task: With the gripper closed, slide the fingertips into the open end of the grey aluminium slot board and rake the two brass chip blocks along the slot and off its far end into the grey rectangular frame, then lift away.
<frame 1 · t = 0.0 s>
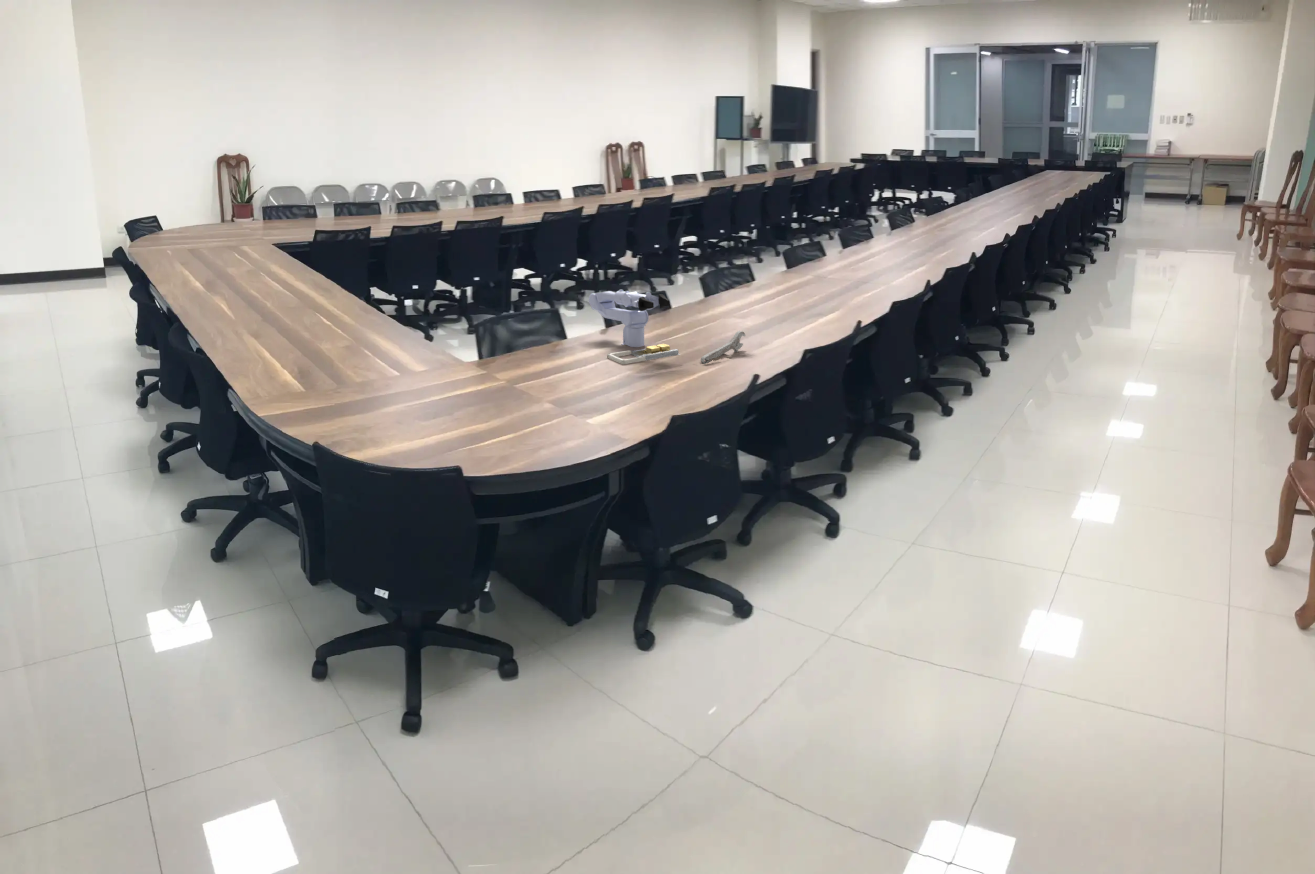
hand: (660, 304, 362), 22 cm above the table, tool horizontal, fingers open, 7 cm apart
chip rear: (663, 352, 372), point 1 cm above the table, touching slot board
chip front: (652, 354, 369), point 1 cm above the table, touching slot board
wrench: (723, 357, 371), on the table
slot board: (654, 356, 370), on the table
grey rectangular frame: (626, 361, 363), on the table
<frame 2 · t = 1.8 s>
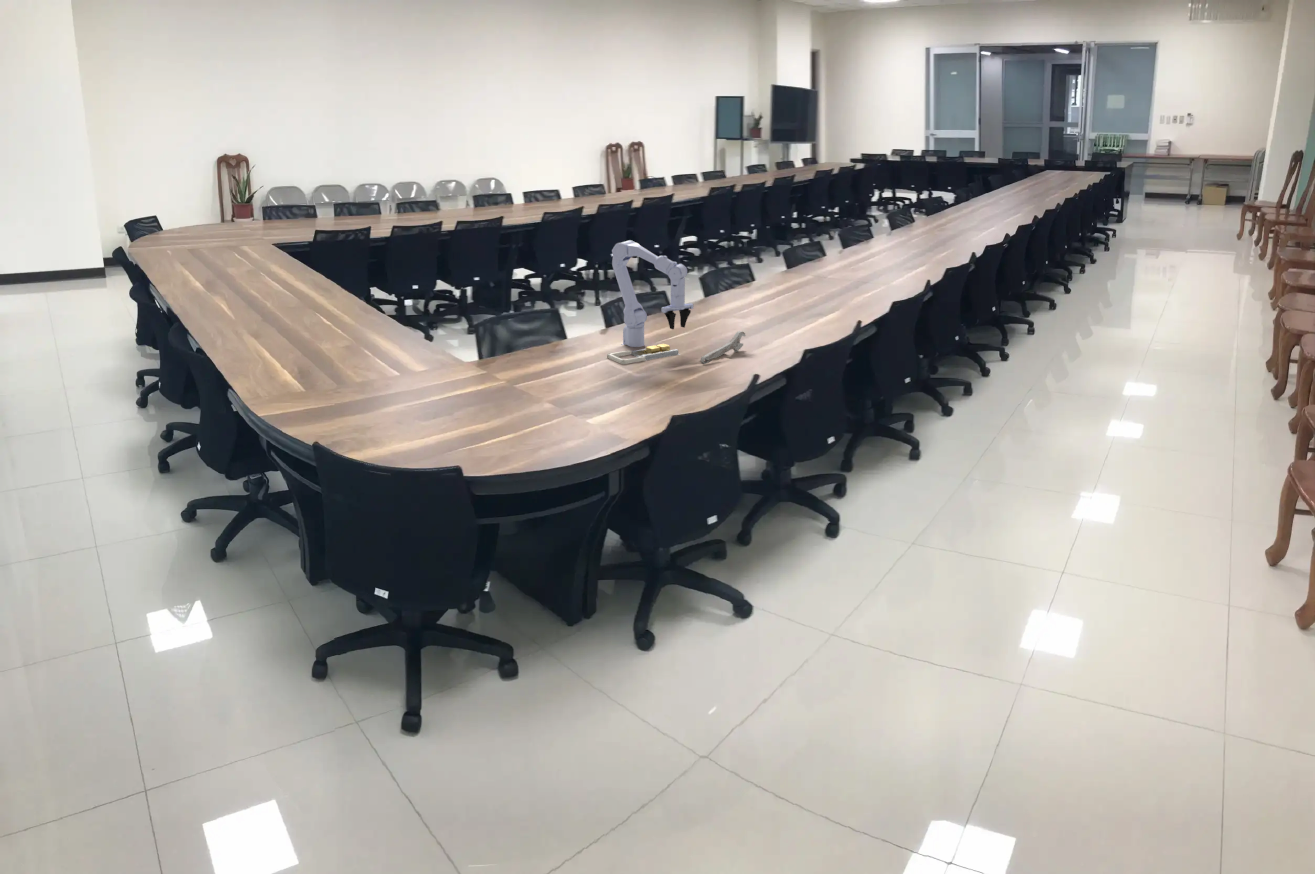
hand: (677, 328, 372), 10 cm above the table, tool pointing down, fingers open, 5 cm apart
nothing on the table moved.
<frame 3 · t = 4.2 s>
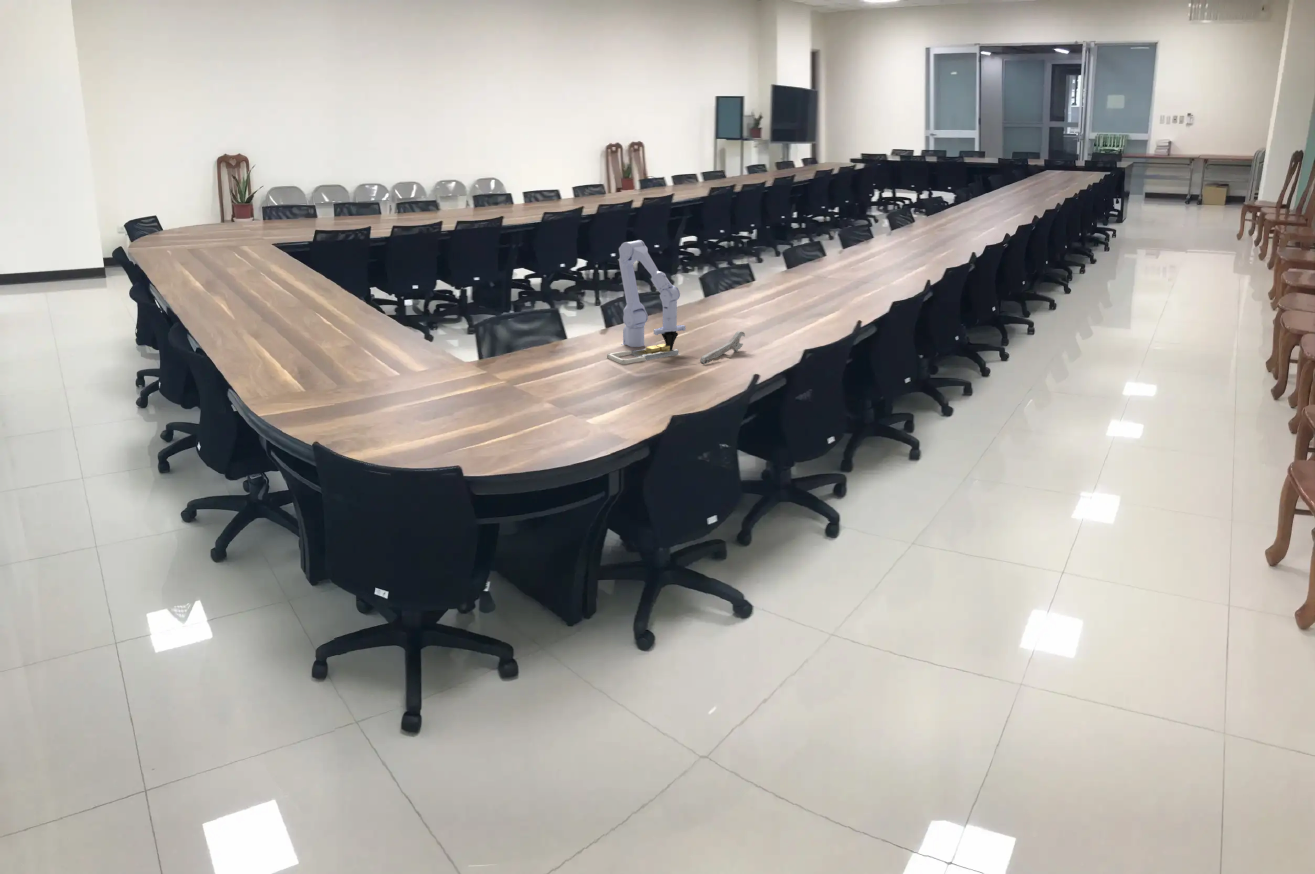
hand: (669, 349, 373), 2 cm above the table, tool pointing down, fingers closed
chip rear: (662, 352, 372), point 1 cm above the table, touching gripper, slot board
everything else where it was.
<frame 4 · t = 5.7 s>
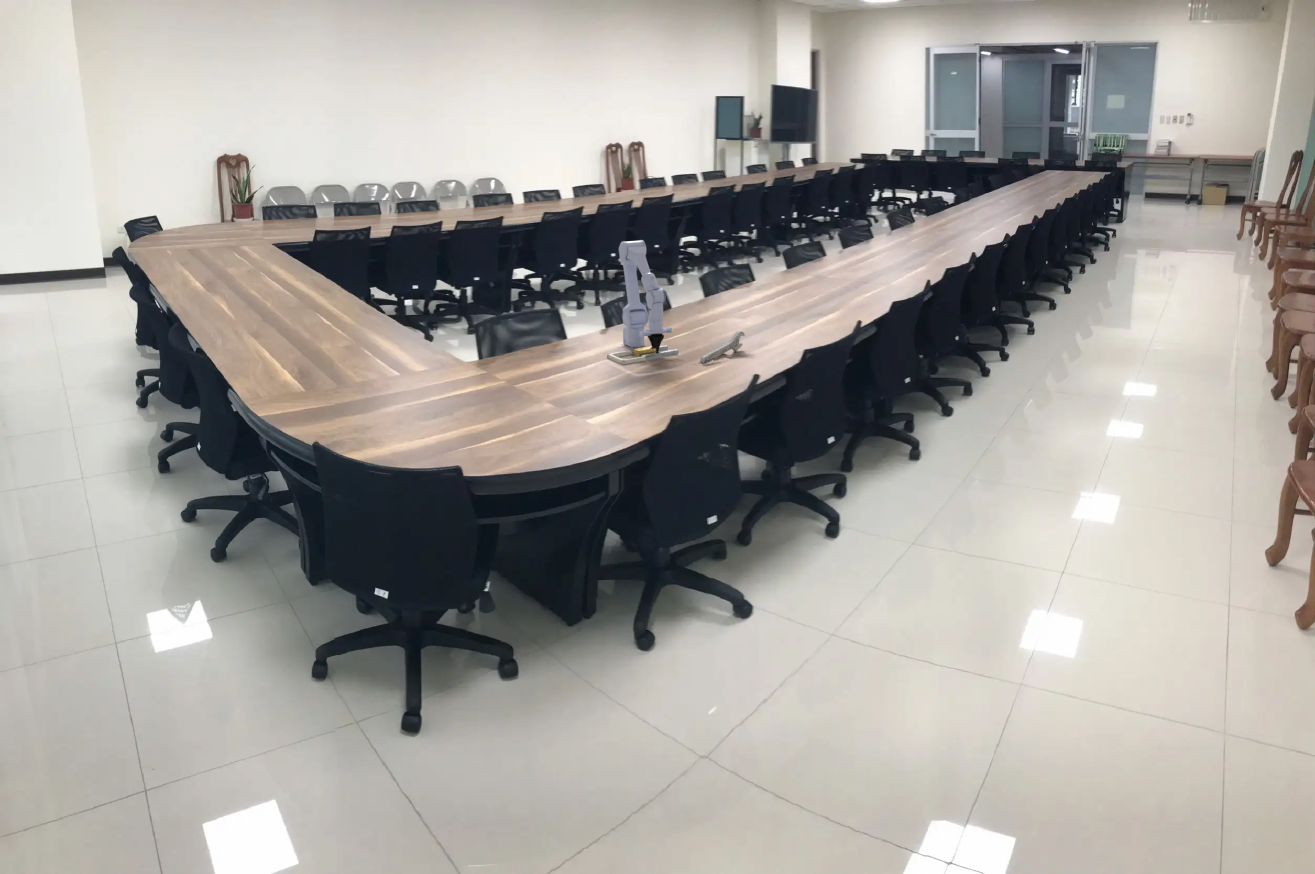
hand: (655, 352, 370), 2 cm above the table, tool pointing down, fingers closed
chip rear: (649, 355, 368), point 1 cm above the table, touching chip front, gripper
chip front: (640, 356, 366), point 1 cm above the table, touching chip rear
everything else where it was.
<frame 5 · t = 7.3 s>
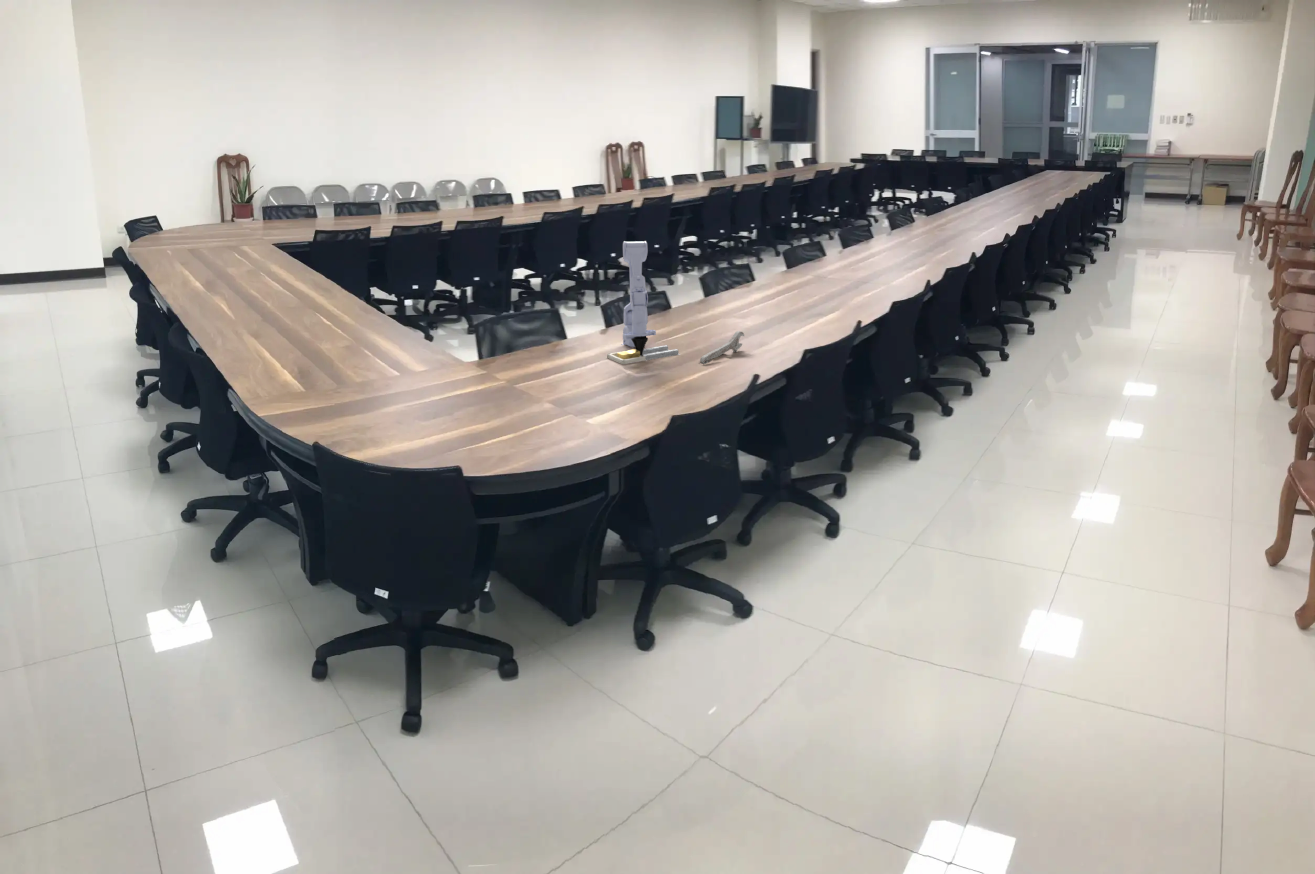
hand: (639, 354, 366), 2 cm above the table, tool pointing down, fingers closed
chip rear: (633, 358, 364), point 1 cm above the table, tilted 8°, touching chip front, gripper
chip front: (624, 360, 362), point 1 cm above the table, touching chip rear
everything else where it was.
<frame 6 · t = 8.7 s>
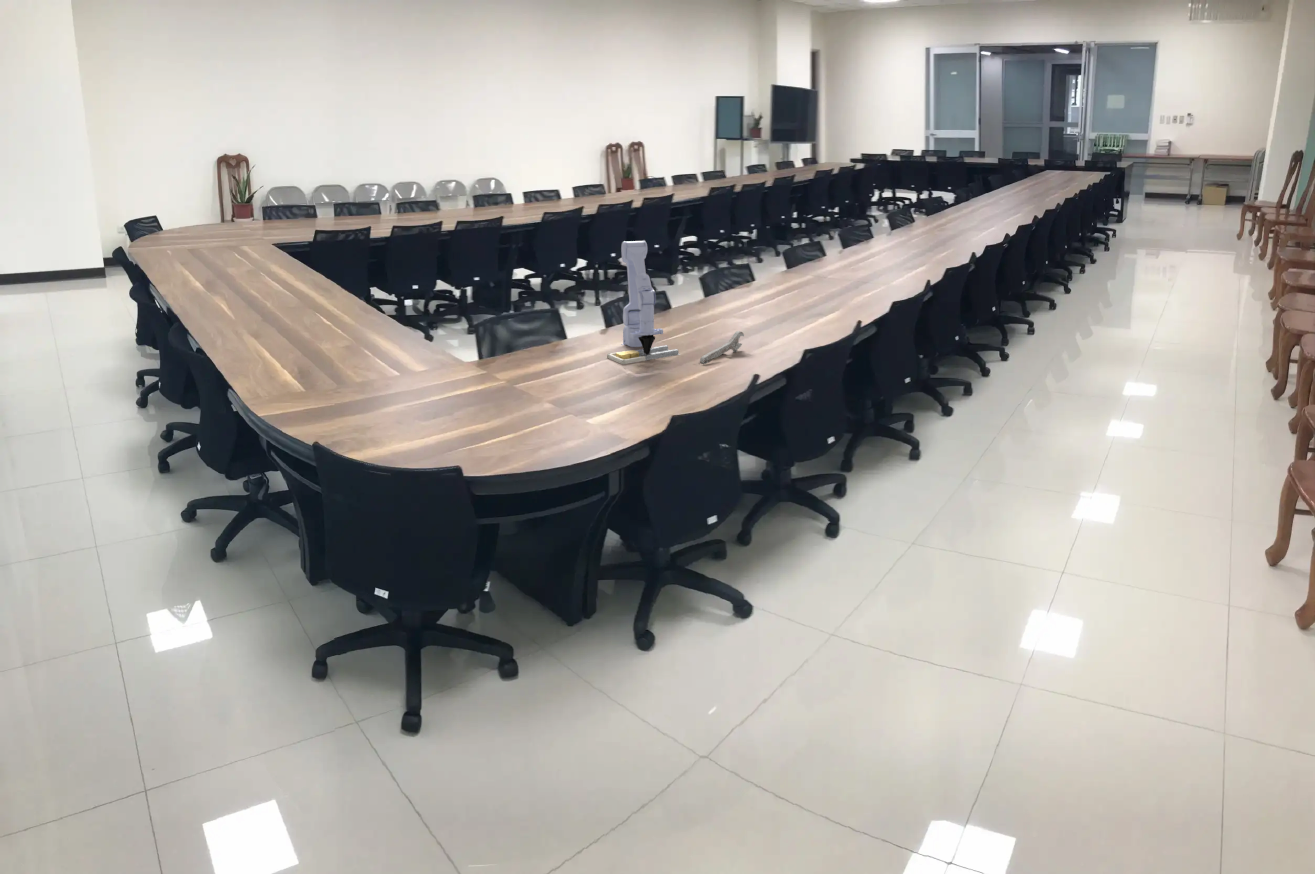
hand: (646, 353, 368), 2 cm above the table, tool pointing down, fingers closed
chip rear: (632, 359, 364), resting on grey rectangular frame
chip front: (623, 360, 362), resting on grey rectangular frame
everything else where it was.
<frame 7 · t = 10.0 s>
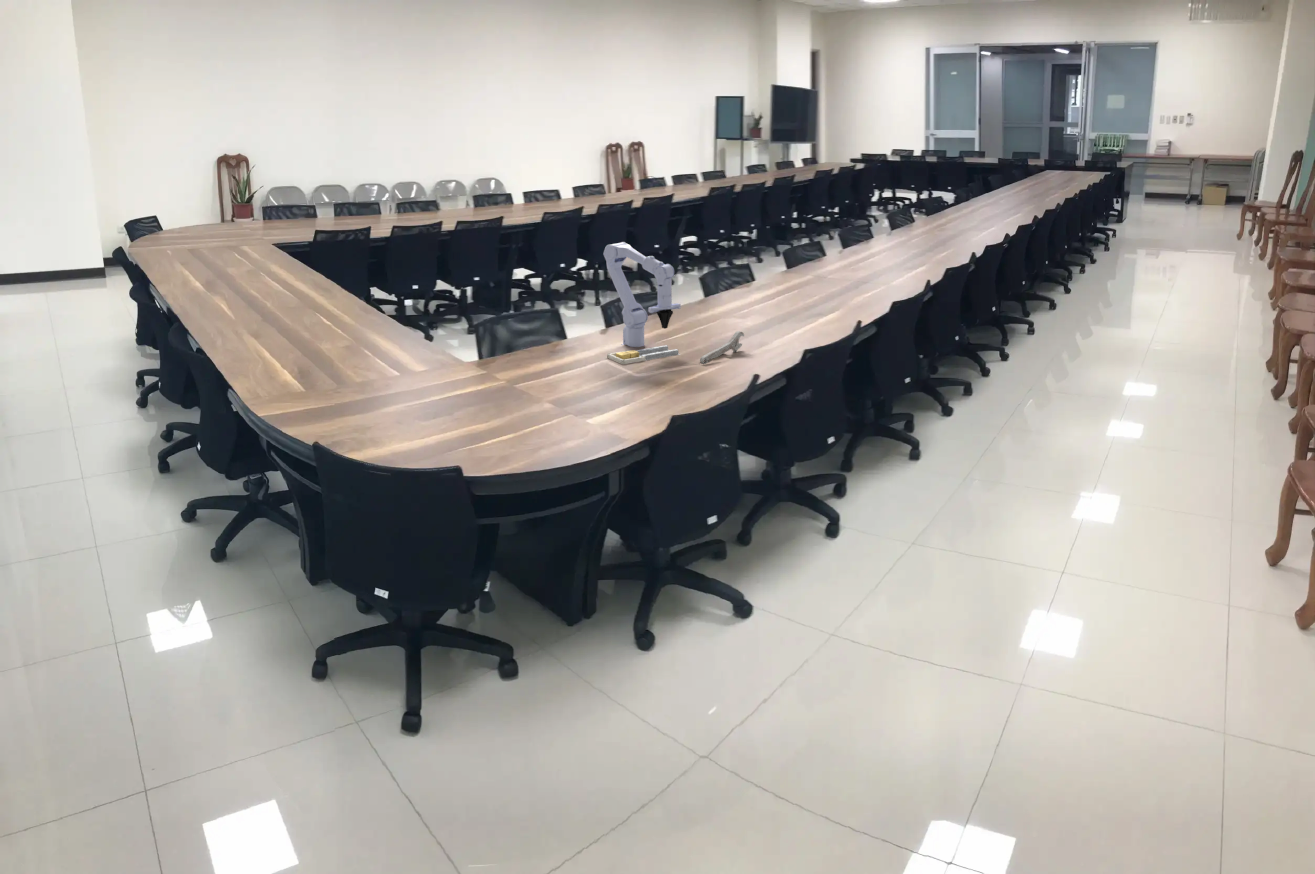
hand: (664, 328, 372), 10 cm above the table, tool pointing down, fingers closed
nothing on the table moved.
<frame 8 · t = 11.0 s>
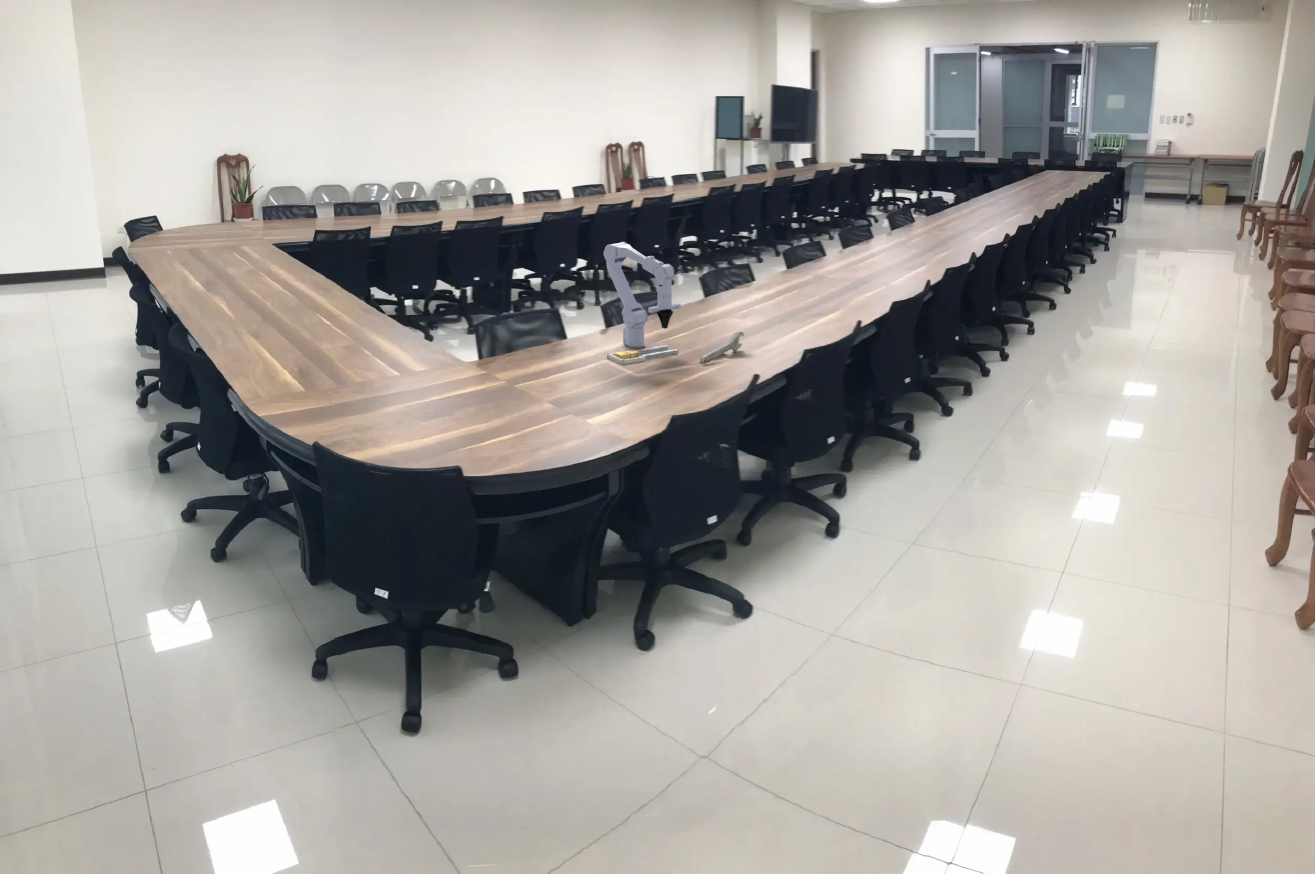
hand: (664, 328, 372), 10 cm above the table, tool pointing down, fingers closed
nothing on the table moved.
at the end: chip front inside the target area (0.9 cm from its centre), point 0.5 cm above the table; chip rear inside the target area (3.3 cm from its centre), point 0.5 cm above the table; chip rear touching grey rectangular frame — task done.
